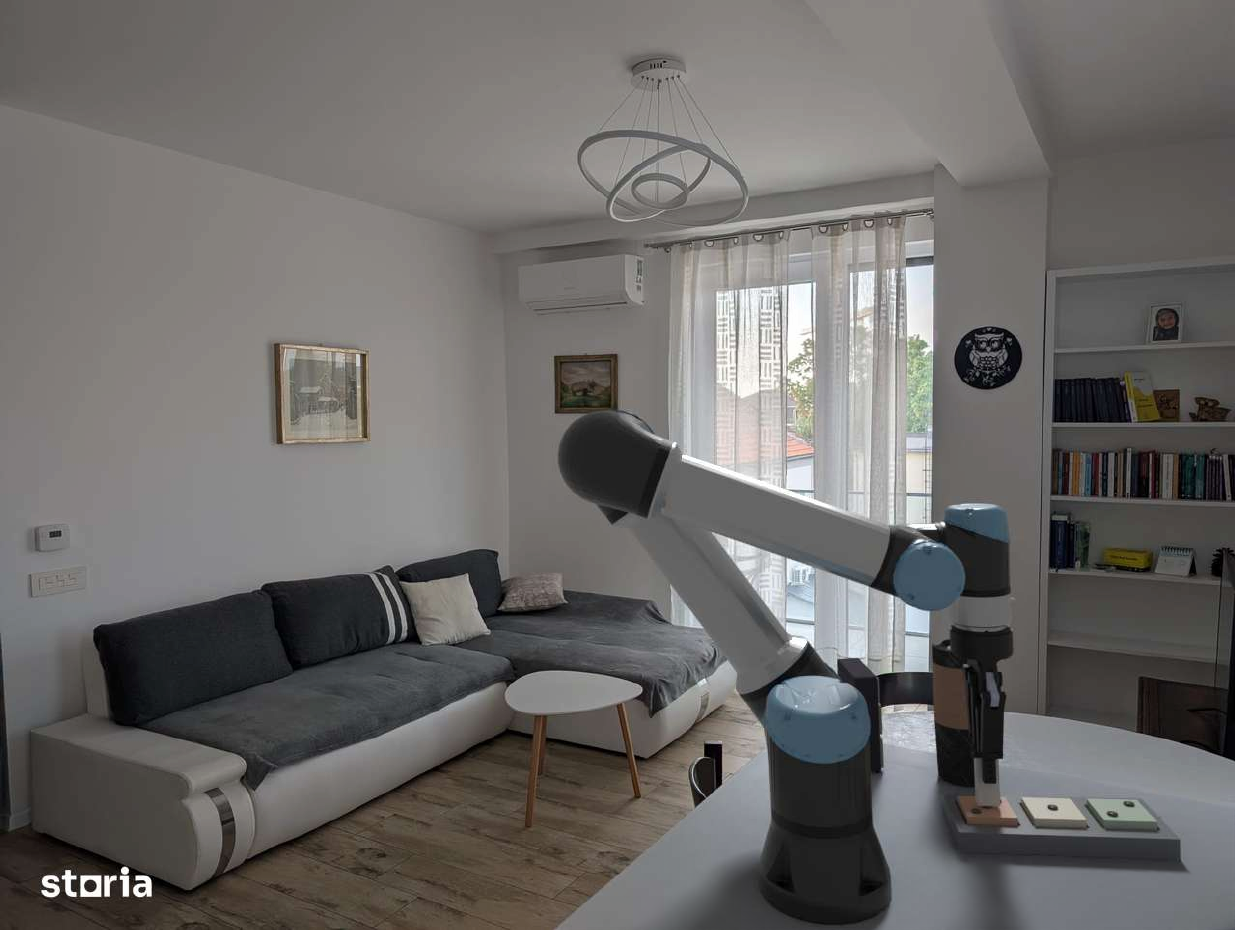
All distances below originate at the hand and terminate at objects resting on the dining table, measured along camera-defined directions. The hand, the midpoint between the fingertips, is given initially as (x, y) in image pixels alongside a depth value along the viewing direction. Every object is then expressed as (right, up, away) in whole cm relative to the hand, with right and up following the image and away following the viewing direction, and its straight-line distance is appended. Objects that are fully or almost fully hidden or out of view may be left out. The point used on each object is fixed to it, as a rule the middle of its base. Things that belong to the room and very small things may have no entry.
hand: (987, 803), depth 111 cm
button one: (+8, -3, -1) cm, 9 cm away
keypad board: (+8, -3, -1) cm, 9 cm away
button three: (0, -3, 0) cm, 3 cm away
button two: (+16, -3, -3) cm, 16 cm away
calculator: (-9, -3, +25) cm, 27 cm away
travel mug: (+4, -3, +17) cm, 17 cm away
